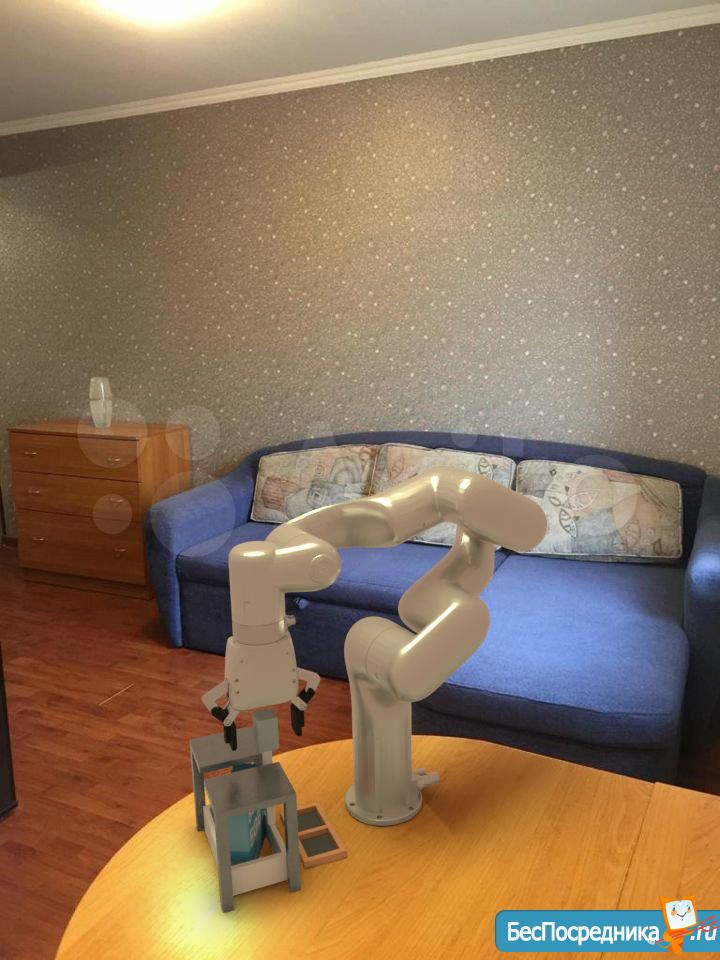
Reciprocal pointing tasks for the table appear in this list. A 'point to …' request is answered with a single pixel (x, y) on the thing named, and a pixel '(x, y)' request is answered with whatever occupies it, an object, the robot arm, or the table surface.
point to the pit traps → (316, 837)
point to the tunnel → (241, 799)
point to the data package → (246, 830)
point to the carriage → (273, 865)
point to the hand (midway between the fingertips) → (265, 738)
